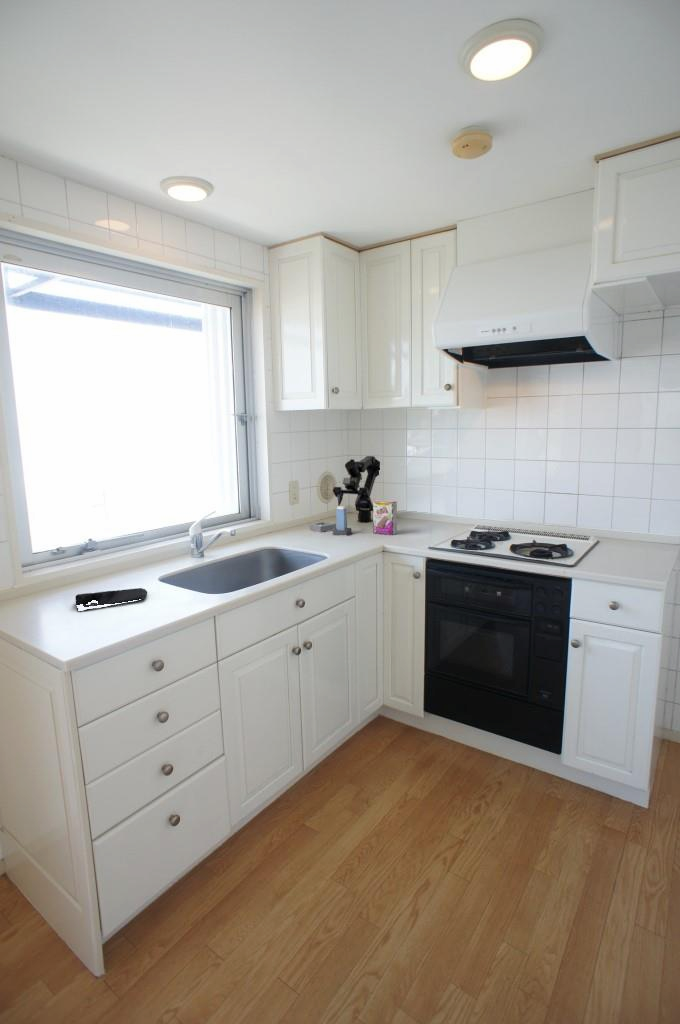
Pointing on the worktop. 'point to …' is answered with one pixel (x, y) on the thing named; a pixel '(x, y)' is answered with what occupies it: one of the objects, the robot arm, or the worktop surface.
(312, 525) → the port
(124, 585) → the worktop surface
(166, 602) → the worktop surface
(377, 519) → the candy bar box
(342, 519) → the light blue tall block
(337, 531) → the holster
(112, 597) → the dark slate chunk
